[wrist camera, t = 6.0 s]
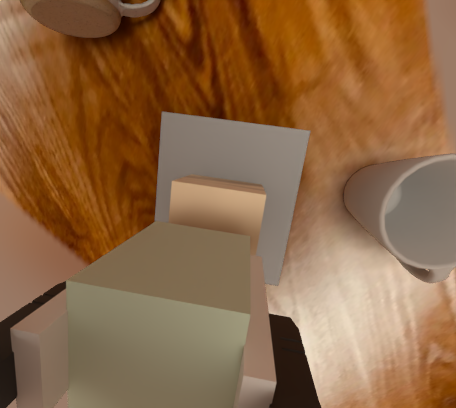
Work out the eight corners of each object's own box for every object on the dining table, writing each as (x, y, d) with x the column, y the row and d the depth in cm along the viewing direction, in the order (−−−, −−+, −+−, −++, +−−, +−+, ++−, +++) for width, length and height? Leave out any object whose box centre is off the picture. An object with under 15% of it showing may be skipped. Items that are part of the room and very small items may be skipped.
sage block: (156, 221, 12) (66, 280, 6) (250, 236, 12) (250, 314, 6) (150, 304, 13) (68, 423, 7) (236, 320, 13) (224, 459, 7)
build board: (166, 113, 23) (161, 111, 22) (307, 132, 22) (310, 130, 21) (156, 259, 26) (151, 264, 25) (276, 280, 25) (278, 285, 24)
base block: (192, 174, 23) (171, 180, 17) (262, 184, 22) (266, 194, 16) (185, 239, 24) (164, 266, 18) (250, 250, 24) (251, 281, 18)
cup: (407, 143, 21) (508, 135, 13) (423, 240, 23) (521, 288, 15) (324, 167, 22) (369, 175, 14) (346, 258, 24) (397, 312, 16)
